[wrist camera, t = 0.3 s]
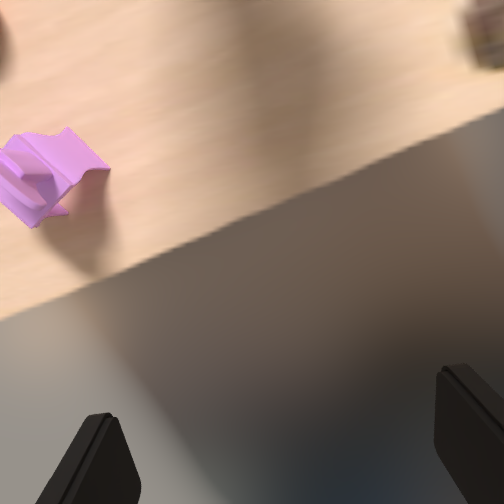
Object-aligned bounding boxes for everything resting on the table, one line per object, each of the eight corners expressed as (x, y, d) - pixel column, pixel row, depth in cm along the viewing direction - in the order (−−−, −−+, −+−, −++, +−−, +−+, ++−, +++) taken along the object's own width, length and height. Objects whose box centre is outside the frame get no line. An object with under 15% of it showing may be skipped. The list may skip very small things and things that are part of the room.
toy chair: (14, 173, 38) (-125, 190, 24) (60, 118, 36) (-60, 102, 22) (71, 223, 40) (-25, 267, 26) (117, 174, 38) (42, 192, 24)
